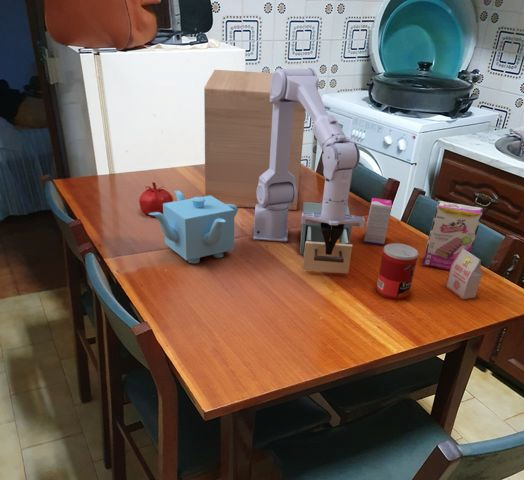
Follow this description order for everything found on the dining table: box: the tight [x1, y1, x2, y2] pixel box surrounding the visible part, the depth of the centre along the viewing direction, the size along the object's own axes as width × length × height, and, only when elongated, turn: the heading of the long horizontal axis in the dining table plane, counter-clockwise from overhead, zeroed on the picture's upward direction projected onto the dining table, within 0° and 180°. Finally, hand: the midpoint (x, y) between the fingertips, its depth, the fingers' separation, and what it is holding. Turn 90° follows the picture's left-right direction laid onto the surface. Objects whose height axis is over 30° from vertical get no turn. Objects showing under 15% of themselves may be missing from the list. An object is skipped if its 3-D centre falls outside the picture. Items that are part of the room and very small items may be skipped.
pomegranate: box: [138, 181, 174, 216], centre depth 163 cm, size 10×10×9 cm
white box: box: [445, 248, 483, 300], centre depth 131 cm, size 4×7×10 cm, turn 20°
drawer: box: [302, 225, 353, 274], centre depth 138 cm, size 20×11×7 cm, turn 176°
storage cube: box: [203, 69, 307, 211], centre depth 178 cm, size 34×29×34 cm
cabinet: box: [299, 201, 353, 256], centre depth 150 cm, size 16×13×9 cm
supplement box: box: [363, 197, 393, 246], centre depth 154 cm, size 6×6×12 cm
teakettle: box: [148, 190, 239, 264], centre depth 140 cm, size 19×19×15 cm
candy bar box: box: [422, 200, 484, 271], centre depth 140 cm, size 11×5×16 cm, turn 71°
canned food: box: [376, 242, 419, 300], centre depth 128 cm, size 8×8×11 cm
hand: (328, 252), depth 132 cm, fingers closed
